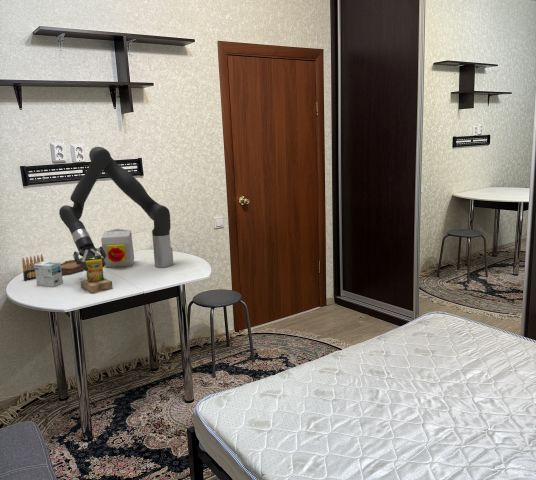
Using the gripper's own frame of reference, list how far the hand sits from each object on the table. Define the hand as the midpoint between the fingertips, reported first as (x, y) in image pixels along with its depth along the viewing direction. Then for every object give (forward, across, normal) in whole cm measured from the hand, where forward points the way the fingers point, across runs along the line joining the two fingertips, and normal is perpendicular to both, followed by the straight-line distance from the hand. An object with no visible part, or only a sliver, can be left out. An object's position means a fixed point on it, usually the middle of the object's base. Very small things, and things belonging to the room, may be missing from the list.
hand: (95, 268), depth 232 cm
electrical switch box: (-14, +26, +29) cm, 41 cm away
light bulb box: (-10, -13, +25) cm, 30 cm away
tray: (+6, 0, +8) cm, 10 cm away
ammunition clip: (-22, -15, +37) cm, 45 cm away
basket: (-24, +3, +39) cm, 46 cm away
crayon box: (+4, 0, +6) cm, 7 cm away
